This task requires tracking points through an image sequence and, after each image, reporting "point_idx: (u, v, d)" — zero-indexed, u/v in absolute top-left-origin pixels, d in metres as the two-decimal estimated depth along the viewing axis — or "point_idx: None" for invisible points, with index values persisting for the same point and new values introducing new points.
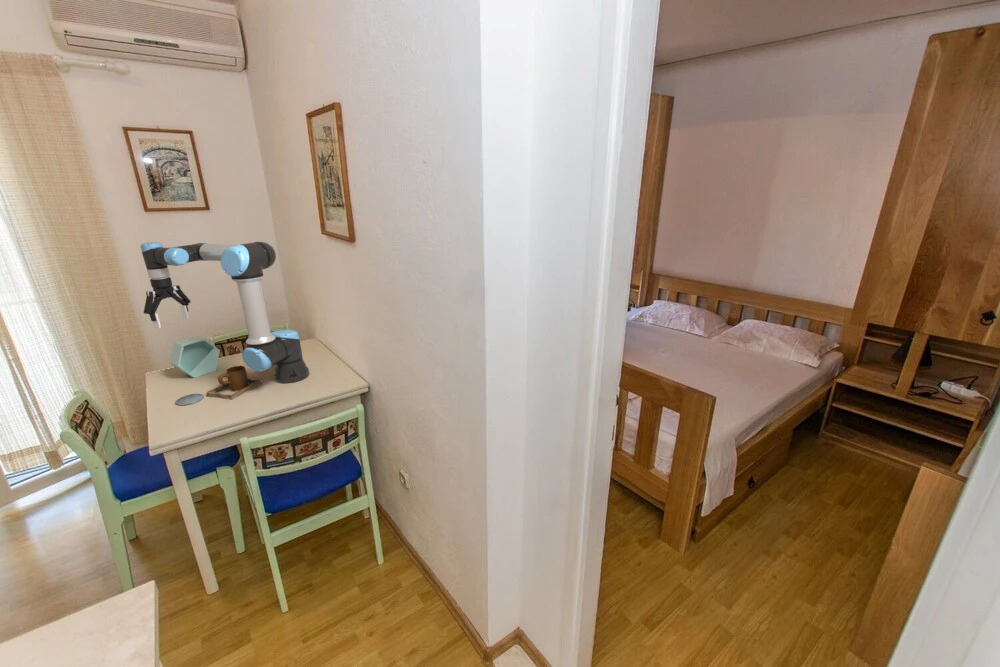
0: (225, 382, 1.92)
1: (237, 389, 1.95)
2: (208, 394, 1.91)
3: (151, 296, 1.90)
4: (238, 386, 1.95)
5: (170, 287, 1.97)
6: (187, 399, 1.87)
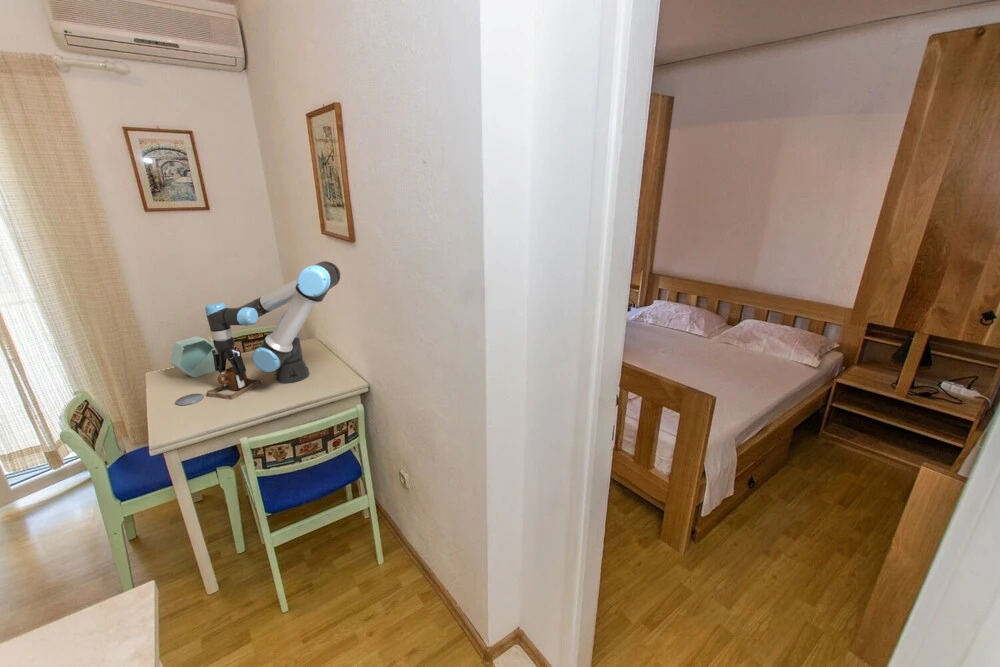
0: (224, 382, 1.92)
1: (236, 389, 1.95)
2: (208, 394, 1.91)
3: (213, 355, 1.92)
4: (237, 386, 1.95)
5: (228, 350, 1.89)
6: (187, 399, 1.87)
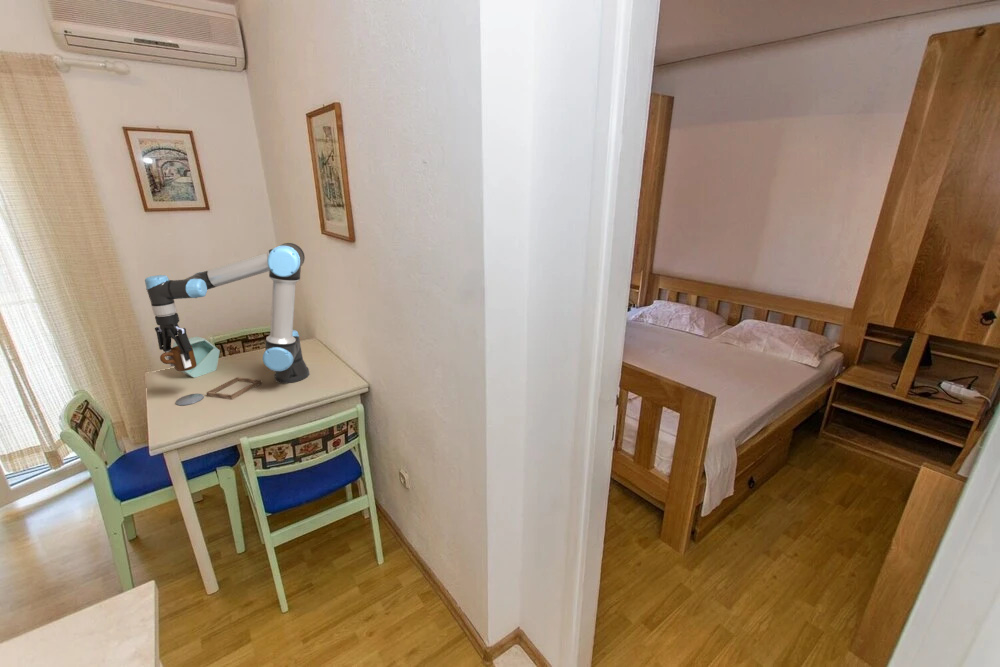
0: (168, 361, 1.79)
1: (182, 369, 1.82)
2: (208, 394, 1.91)
3: (157, 332, 1.78)
4: (183, 366, 1.81)
5: (172, 326, 1.75)
6: (187, 399, 1.87)
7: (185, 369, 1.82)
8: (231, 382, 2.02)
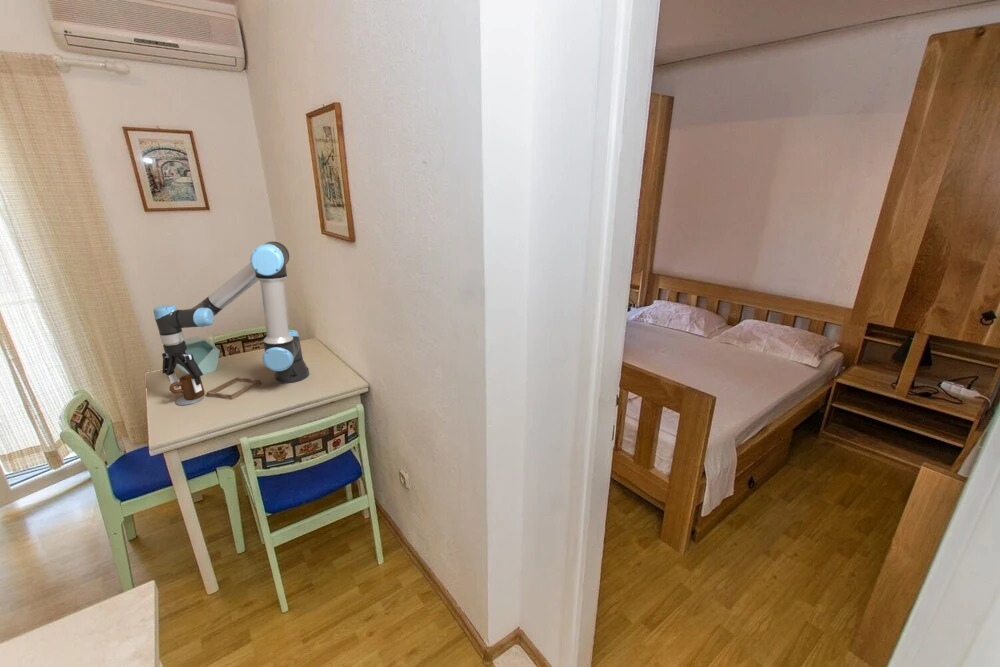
0: (177, 391, 1.83)
1: (191, 398, 1.86)
2: (208, 394, 1.91)
3: (163, 358, 1.82)
4: (191, 395, 1.86)
5: (179, 355, 1.79)
6: None
7: (193, 398, 1.86)
8: (231, 382, 2.02)
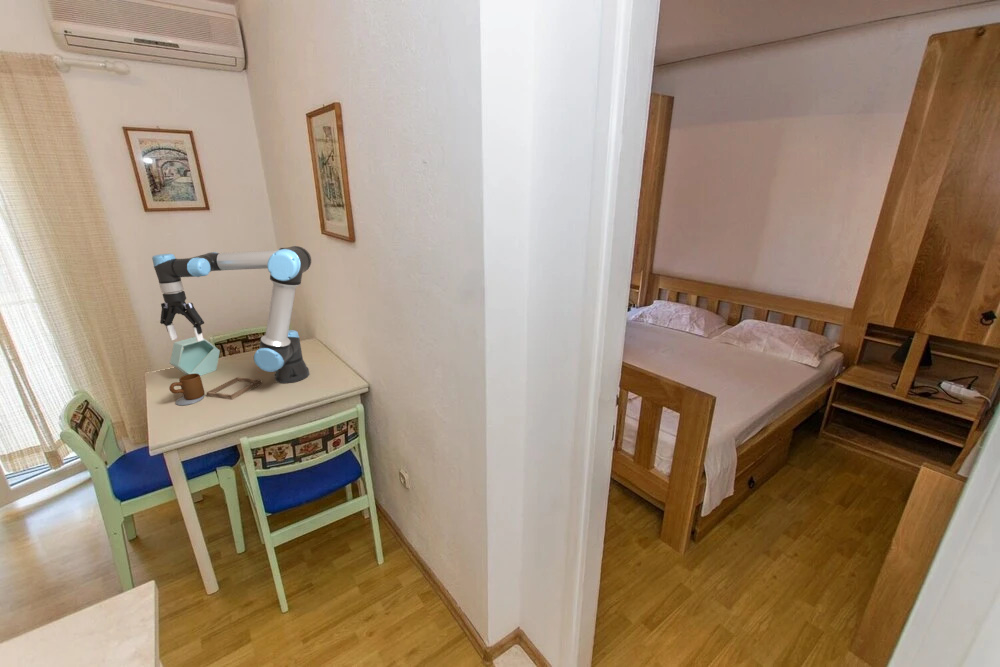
0: (177, 391, 1.83)
1: (191, 398, 1.86)
2: (208, 394, 1.91)
3: (162, 308, 1.83)
4: (191, 395, 1.86)
5: (179, 304, 1.80)
6: None
7: (193, 398, 1.86)
8: (231, 382, 2.02)
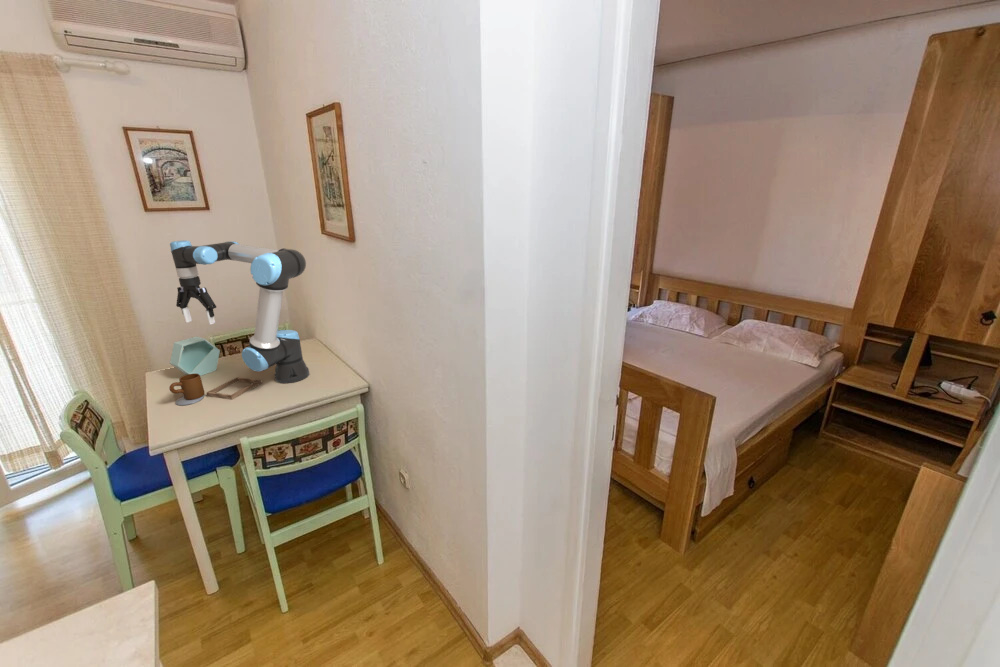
0: (177, 391, 1.83)
1: (191, 398, 1.86)
2: (208, 394, 1.91)
3: (178, 291, 1.94)
4: (191, 395, 1.86)
5: (193, 288, 1.91)
6: None
7: (193, 398, 1.86)
8: (231, 382, 2.02)
